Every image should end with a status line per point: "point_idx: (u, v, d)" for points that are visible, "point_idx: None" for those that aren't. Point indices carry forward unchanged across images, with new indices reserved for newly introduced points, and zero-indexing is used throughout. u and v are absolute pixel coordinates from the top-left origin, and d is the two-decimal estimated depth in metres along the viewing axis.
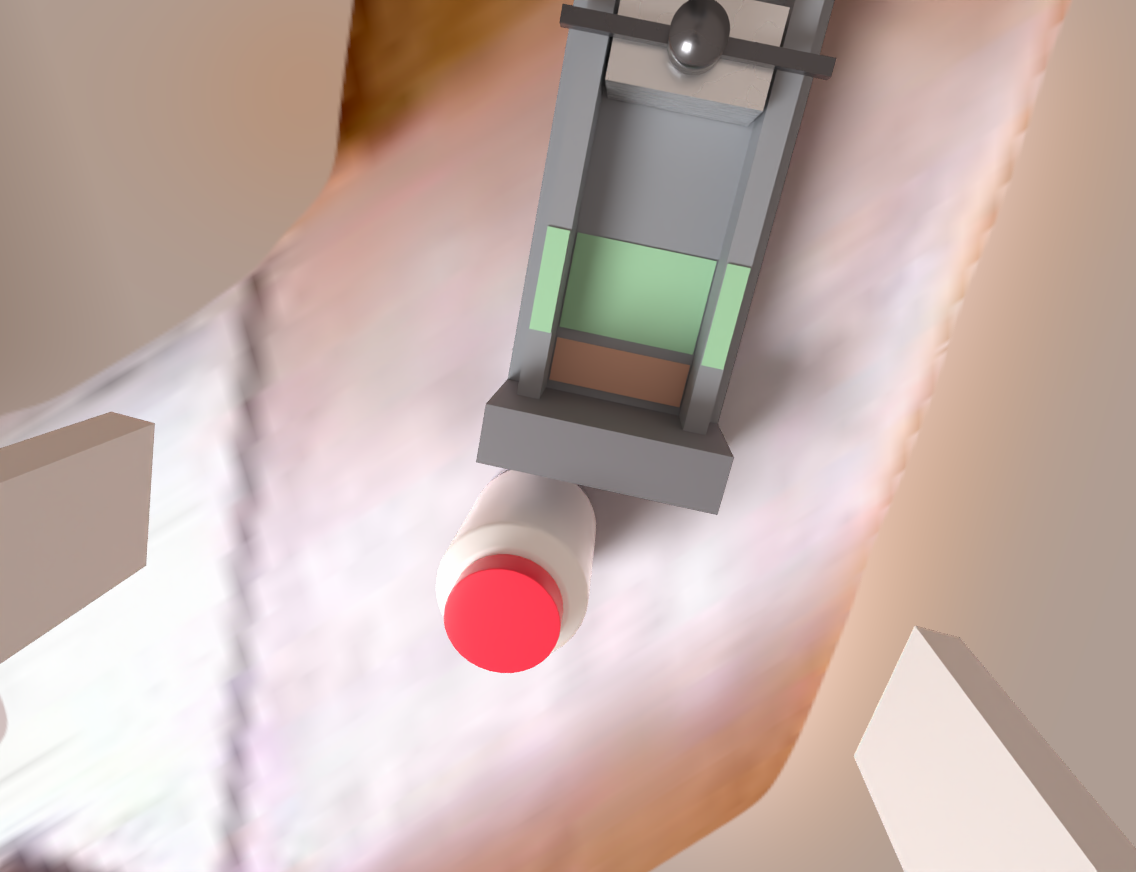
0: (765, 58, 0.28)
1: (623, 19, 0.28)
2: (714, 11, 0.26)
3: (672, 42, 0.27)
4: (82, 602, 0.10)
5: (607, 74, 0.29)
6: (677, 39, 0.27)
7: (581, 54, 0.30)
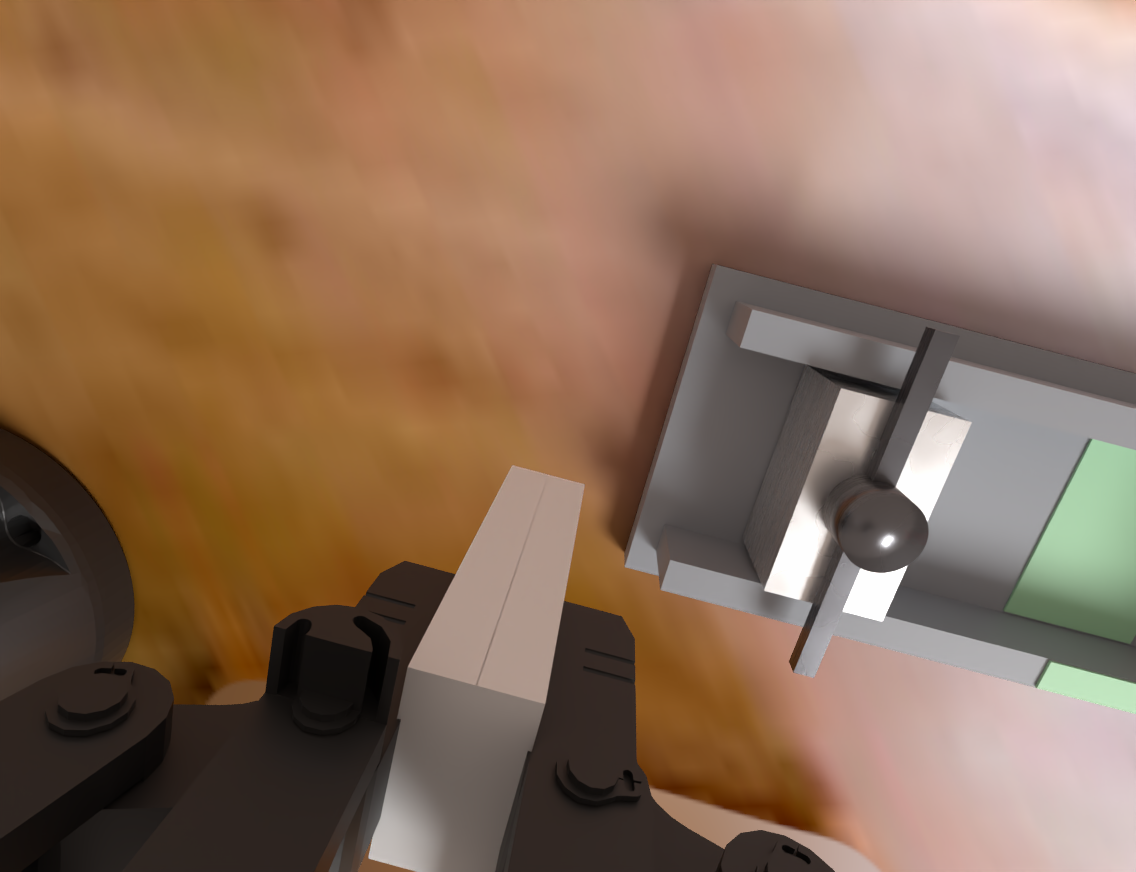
0: (913, 428, 0.19)
1: (825, 605, 0.21)
2: (863, 516, 0.19)
3: (891, 569, 0.19)
4: None
5: (877, 618, 0.22)
6: (888, 563, 0.19)
7: None
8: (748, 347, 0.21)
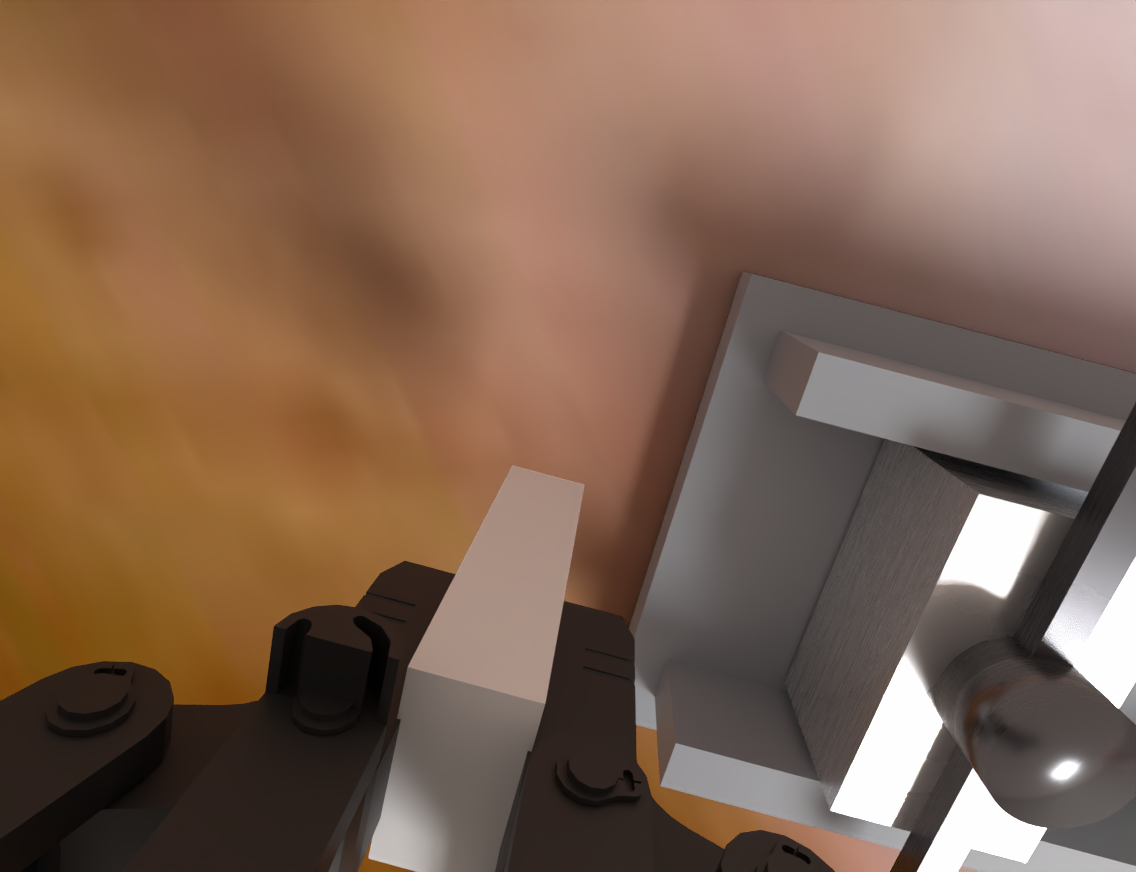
0: (1114, 571, 0.11)
1: (936, 846, 0.13)
2: (1030, 735, 0.10)
3: (1073, 824, 0.11)
4: None
5: (1017, 857, 0.13)
6: (1070, 814, 0.11)
7: None
8: (810, 415, 0.12)
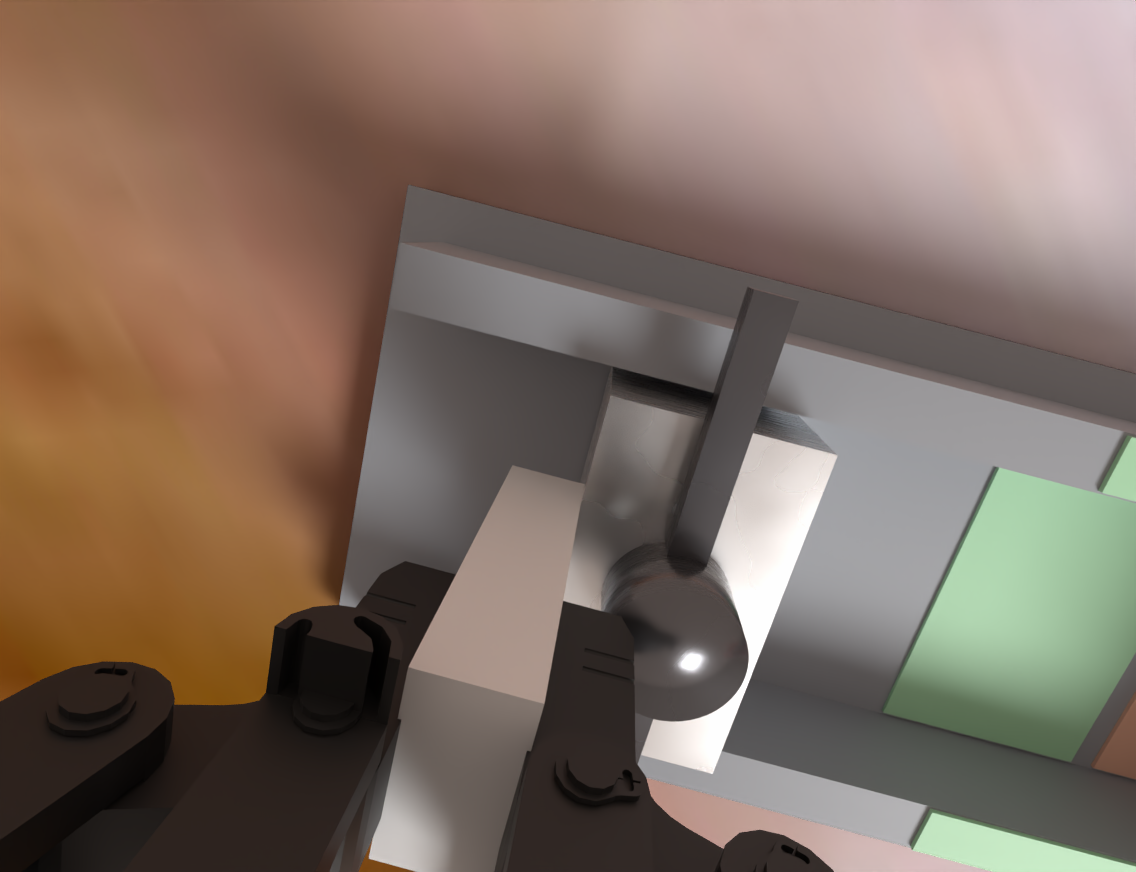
0: (729, 467, 0.11)
1: None
2: (632, 625, 0.11)
3: (689, 716, 0.11)
4: None
5: (703, 768, 0.13)
6: (684, 705, 0.11)
7: None
8: (402, 308, 0.12)
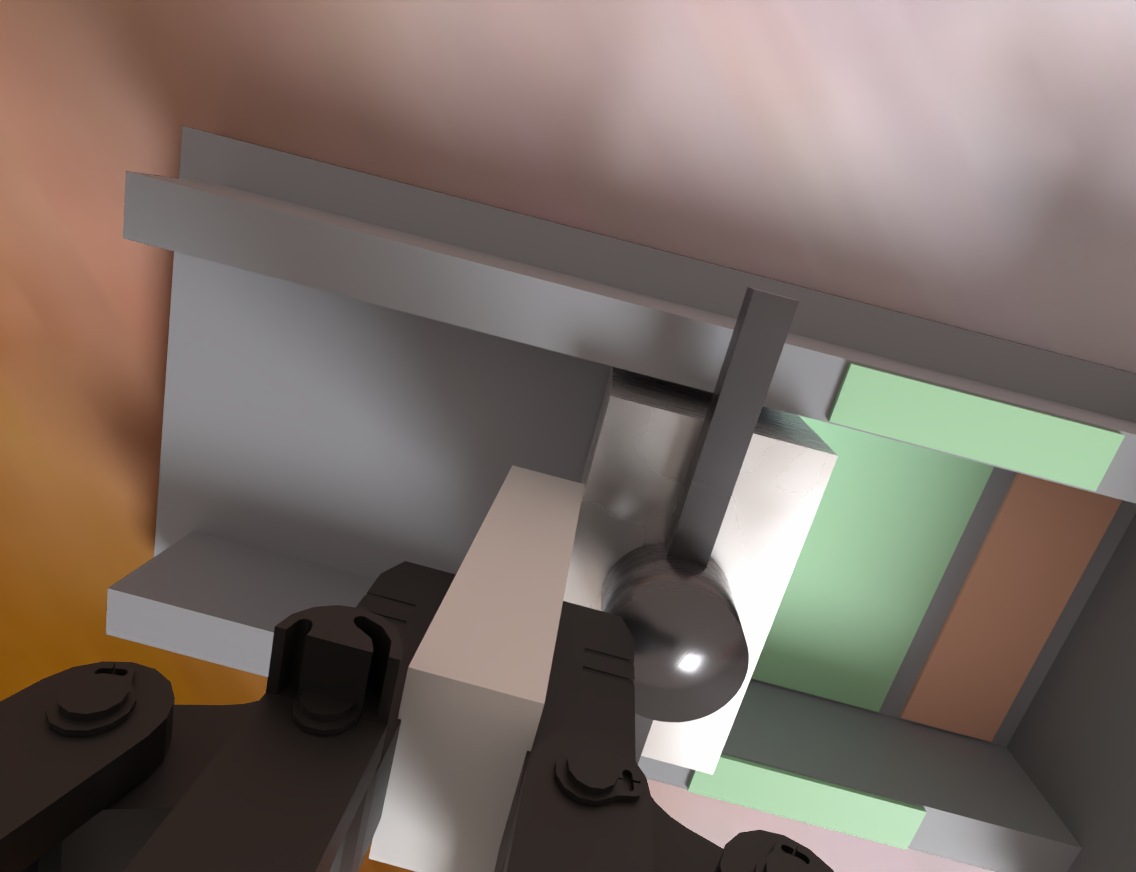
0: (729, 468, 0.11)
1: None
2: (632, 626, 0.10)
3: (689, 717, 0.11)
4: None
5: (703, 769, 0.13)
6: (684, 706, 0.11)
7: None
8: (134, 237, 0.12)
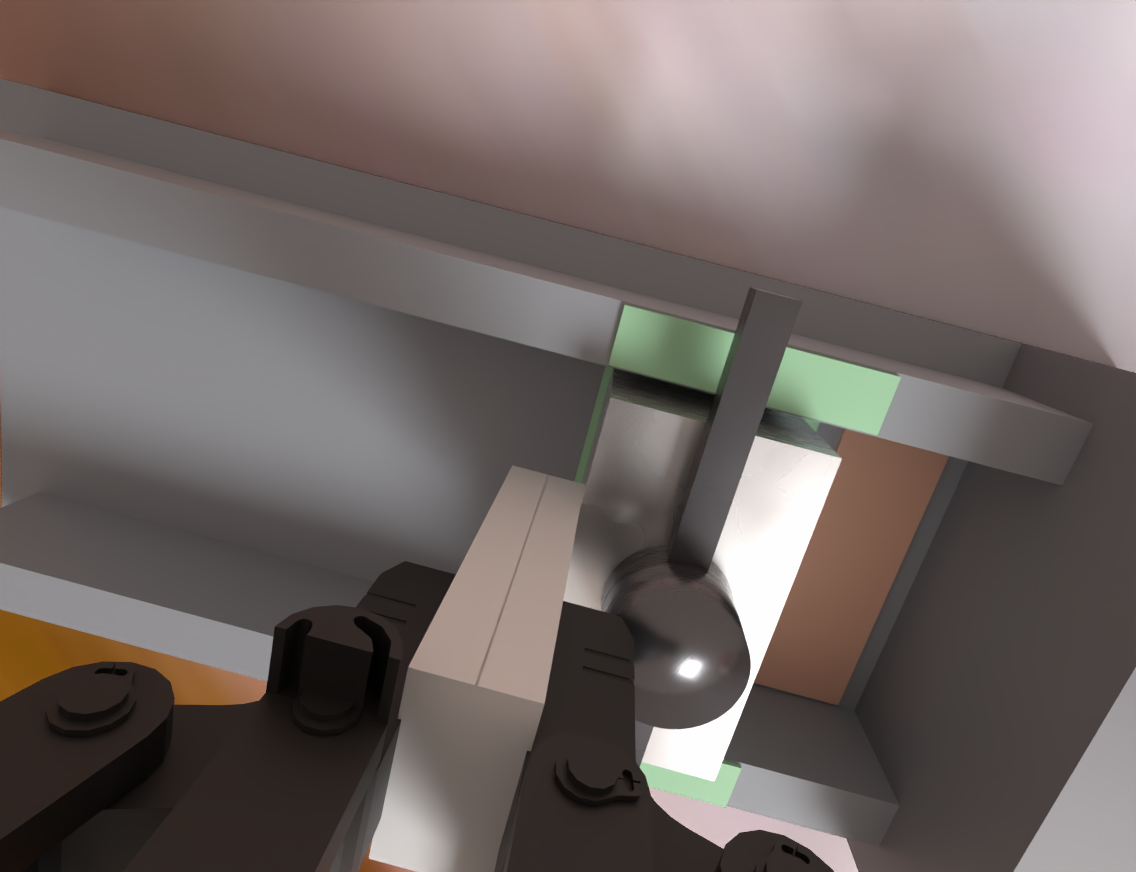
0: (731, 471, 0.11)
1: None
2: (632, 631, 0.10)
3: (690, 724, 0.11)
4: None
5: (705, 776, 0.13)
6: (685, 713, 0.11)
7: (180, 652, 0.15)
8: None
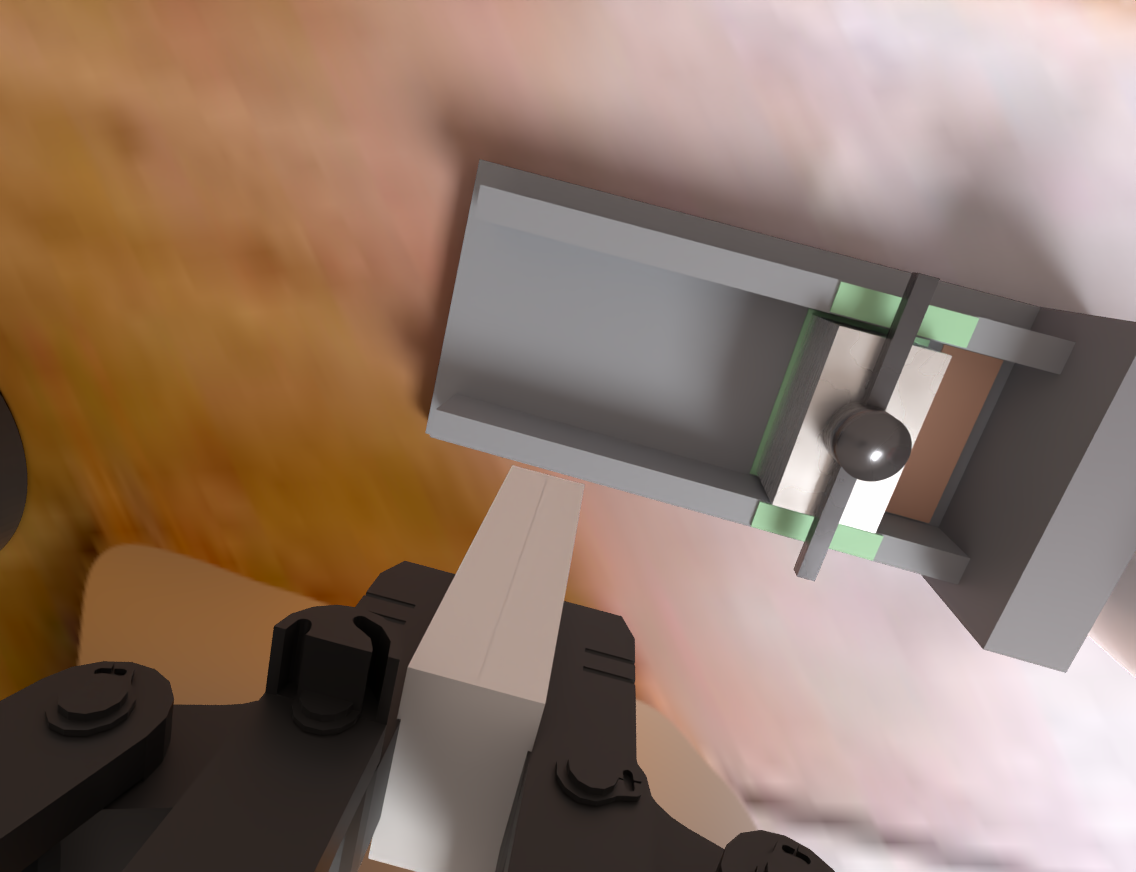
0: (900, 359, 0.23)
1: (824, 515, 0.25)
2: (856, 431, 0.22)
3: (880, 478, 0.23)
4: None
5: (870, 530, 0.25)
6: (877, 473, 0.23)
7: (571, 472, 0.27)
8: (480, 217, 0.25)
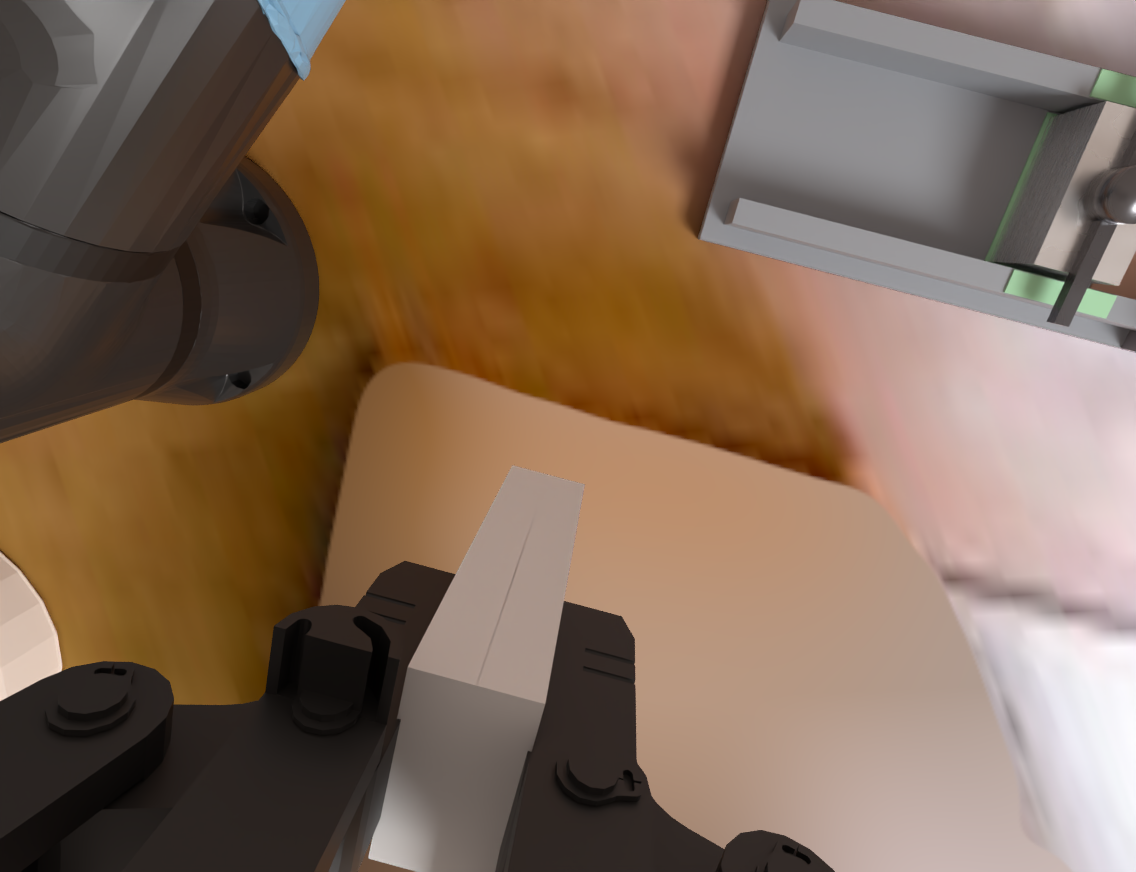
0: None
1: (1083, 267, 0.30)
2: (1129, 179, 0.28)
3: None
4: None
5: (1115, 283, 0.31)
6: None
7: (853, 250, 0.32)
8: (799, 22, 0.30)
